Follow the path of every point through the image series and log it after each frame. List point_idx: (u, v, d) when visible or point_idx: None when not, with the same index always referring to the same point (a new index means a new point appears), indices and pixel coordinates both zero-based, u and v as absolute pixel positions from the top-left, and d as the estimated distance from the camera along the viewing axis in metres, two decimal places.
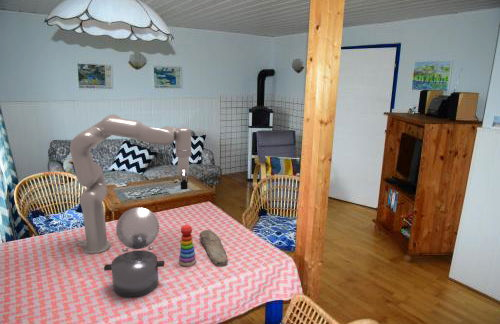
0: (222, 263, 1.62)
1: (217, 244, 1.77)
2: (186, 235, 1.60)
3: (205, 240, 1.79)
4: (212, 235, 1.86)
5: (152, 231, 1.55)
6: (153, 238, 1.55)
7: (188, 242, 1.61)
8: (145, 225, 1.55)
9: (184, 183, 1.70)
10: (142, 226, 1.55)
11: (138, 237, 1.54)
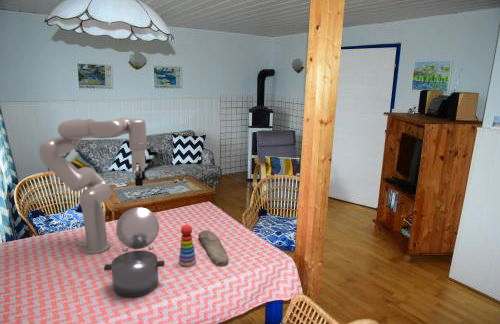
0: (223, 263, 1.62)
1: (217, 244, 1.78)
2: (186, 235, 1.60)
3: (205, 240, 1.79)
4: (211, 235, 1.86)
5: (152, 231, 1.55)
6: (153, 238, 1.55)
7: (188, 242, 1.61)
8: (145, 225, 1.55)
9: (139, 179, 1.60)
10: (142, 226, 1.55)
11: (138, 237, 1.54)
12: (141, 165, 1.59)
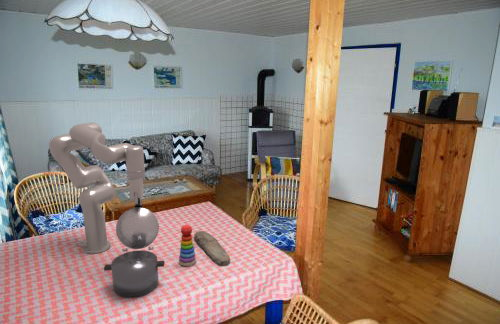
0: (226, 262, 1.63)
1: (215, 244, 1.77)
2: (186, 235, 1.60)
3: (202, 241, 1.78)
4: (207, 236, 1.86)
5: (152, 231, 1.55)
6: (153, 238, 1.55)
7: (188, 242, 1.61)
8: (144, 226, 1.55)
9: None
10: (141, 226, 1.54)
11: (138, 237, 1.54)
12: (139, 194, 1.52)
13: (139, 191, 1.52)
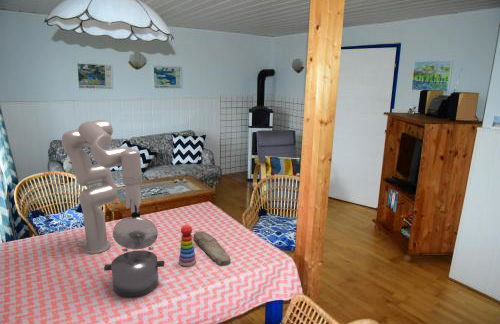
0: (226, 262, 1.63)
1: (215, 244, 1.77)
2: (186, 235, 1.60)
3: (202, 241, 1.78)
4: (206, 236, 1.86)
5: (151, 237, 1.50)
6: (152, 241, 1.52)
7: (188, 242, 1.61)
8: (142, 233, 1.48)
9: (135, 215, 1.47)
10: (139, 233, 1.48)
11: (137, 241, 1.51)
12: (136, 201, 1.42)
13: (136, 198, 1.42)
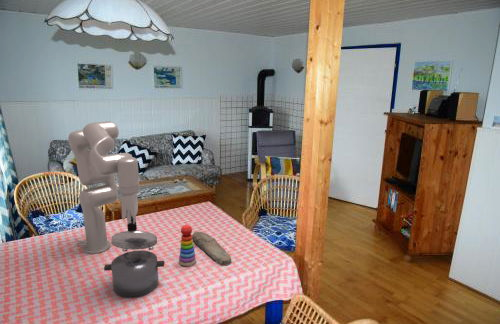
0: (228, 261, 1.64)
1: (215, 244, 1.77)
2: (186, 235, 1.60)
3: (201, 241, 1.78)
4: (205, 236, 1.85)
5: (150, 243, 1.48)
6: (152, 245, 1.51)
7: (188, 242, 1.61)
8: (142, 241, 1.46)
9: (131, 225, 1.40)
10: (139, 241, 1.46)
11: (136, 245, 1.49)
12: (133, 212, 1.35)
13: (132, 209, 1.35)
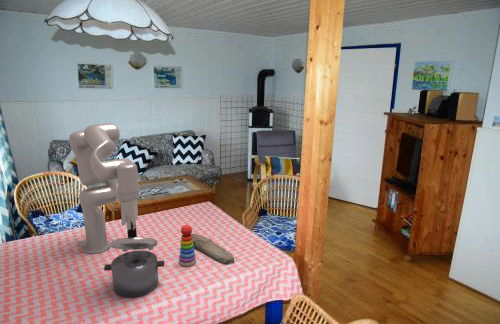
0: (231, 260, 1.65)
1: (212, 244, 1.77)
2: (186, 235, 1.60)
3: (199, 243, 1.76)
4: (200, 237, 1.84)
5: (150, 245, 1.48)
6: (152, 246, 1.51)
7: (188, 242, 1.61)
8: (141, 245, 1.45)
9: (131, 232, 1.39)
10: (138, 245, 1.45)
11: (136, 247, 1.49)
12: (132, 218, 1.34)
13: (132, 215, 1.34)
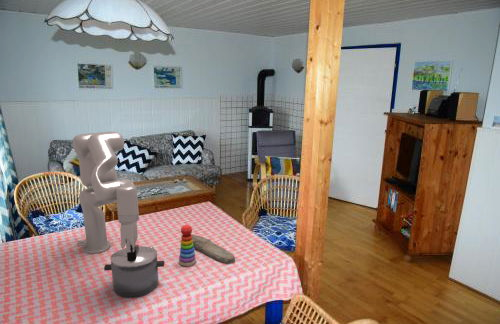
0: (233, 259, 1.65)
1: (212, 244, 1.77)
2: (186, 235, 1.60)
3: (198, 244, 1.76)
4: (198, 238, 1.83)
5: None
6: None
7: (188, 242, 1.61)
8: None
9: (131, 254, 1.36)
10: None
11: None
12: (132, 240, 1.32)
13: (132, 237, 1.31)
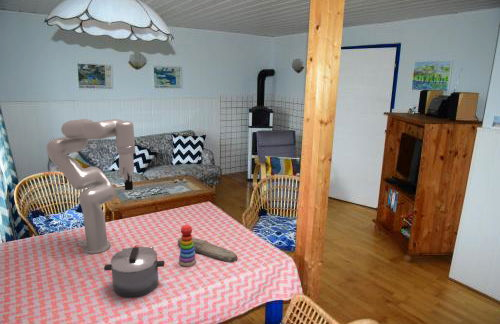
0: (236, 257, 1.67)
1: (210, 245, 1.77)
2: (186, 235, 1.60)
3: (197, 245, 1.74)
4: (194, 240, 1.81)
5: None
6: None
7: (188, 242, 1.61)
8: None
9: (128, 183, 1.56)
10: None
11: None
12: (129, 169, 1.51)
13: (128, 167, 1.51)
